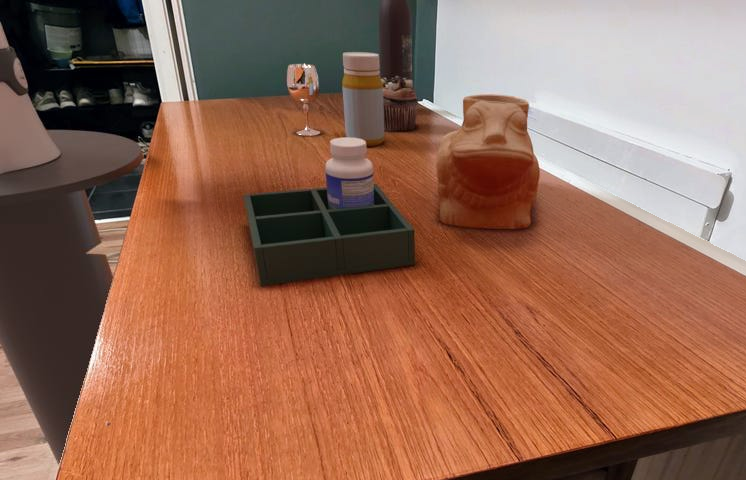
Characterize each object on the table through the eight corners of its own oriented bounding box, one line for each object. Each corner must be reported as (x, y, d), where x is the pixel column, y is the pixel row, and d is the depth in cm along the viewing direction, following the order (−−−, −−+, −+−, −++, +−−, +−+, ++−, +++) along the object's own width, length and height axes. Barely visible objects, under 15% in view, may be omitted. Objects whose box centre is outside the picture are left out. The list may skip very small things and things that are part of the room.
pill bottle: (326, 216, 67) (318, 136, 62) (369, 212, 69) (365, 134, 64) (334, 233, 63) (327, 148, 58) (380, 228, 65) (377, 146, 60)
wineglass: (329, 131, 107) (323, 65, 101) (314, 137, 102) (307, 68, 96) (302, 128, 108) (295, 62, 102) (287, 134, 103) (278, 66, 97)
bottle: (391, 144, 102) (389, 56, 94) (358, 148, 97) (353, 57, 90) (372, 135, 106) (367, 51, 98) (339, 140, 102) (332, 52, 94)
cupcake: (428, 127, 115) (428, 76, 110) (397, 134, 108) (396, 80, 103) (393, 119, 119) (392, 70, 114) (362, 126, 112) (359, 74, 107)
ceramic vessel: (427, 240, 65) (428, 108, 57) (442, 174, 87) (444, 73, 79) (543, 246, 65) (560, 115, 57) (528, 179, 87) (539, 78, 80)
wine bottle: (406, 114, 124) (403, -41, 109) (377, 111, 125) (370, -43, 110) (416, 109, 130) (415, -40, 115) (388, 106, 131) (384, -41, 116)
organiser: (260, 286, 53) (254, 248, 51) (249, 227, 65) (243, 194, 63) (415, 264, 59) (414, 229, 57) (377, 214, 71) (376, 183, 69)
